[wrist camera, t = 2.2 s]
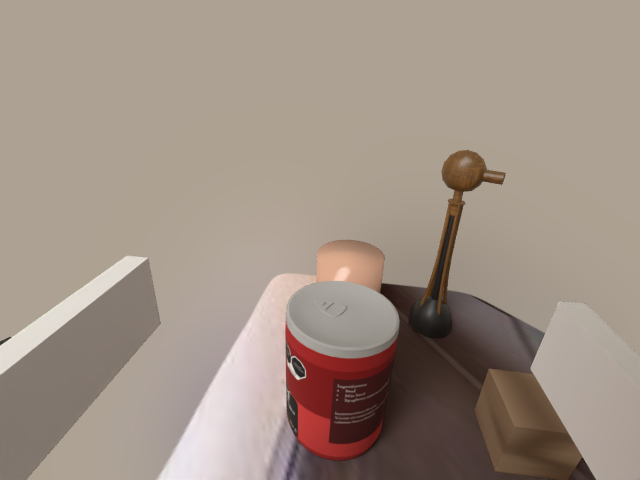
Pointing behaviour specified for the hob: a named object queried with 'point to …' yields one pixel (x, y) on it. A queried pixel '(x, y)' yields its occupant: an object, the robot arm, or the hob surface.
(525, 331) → the hob surface
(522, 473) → the walnut block
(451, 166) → the wooden tabletop sculpture
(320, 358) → the canned food
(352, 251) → the peach cylinder
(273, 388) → the hob surface
